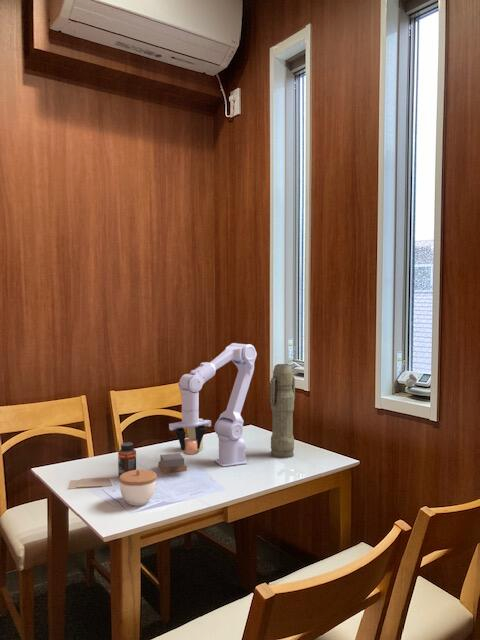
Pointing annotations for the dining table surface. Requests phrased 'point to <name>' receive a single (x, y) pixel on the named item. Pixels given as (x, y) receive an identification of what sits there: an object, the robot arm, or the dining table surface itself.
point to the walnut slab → (172, 469)
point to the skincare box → (193, 435)
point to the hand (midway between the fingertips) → (190, 448)
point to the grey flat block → (172, 460)
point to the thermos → (282, 411)
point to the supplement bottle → (126, 458)
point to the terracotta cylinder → (190, 446)
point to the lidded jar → (138, 486)
